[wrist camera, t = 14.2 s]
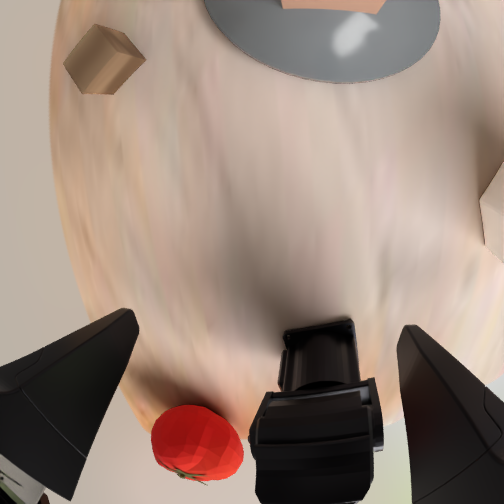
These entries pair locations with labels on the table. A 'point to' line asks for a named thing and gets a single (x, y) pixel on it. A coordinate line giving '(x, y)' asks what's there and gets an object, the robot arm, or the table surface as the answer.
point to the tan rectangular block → (336, 5)
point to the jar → (494, 215)
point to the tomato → (196, 444)
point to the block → (103, 61)
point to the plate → (330, 37)
